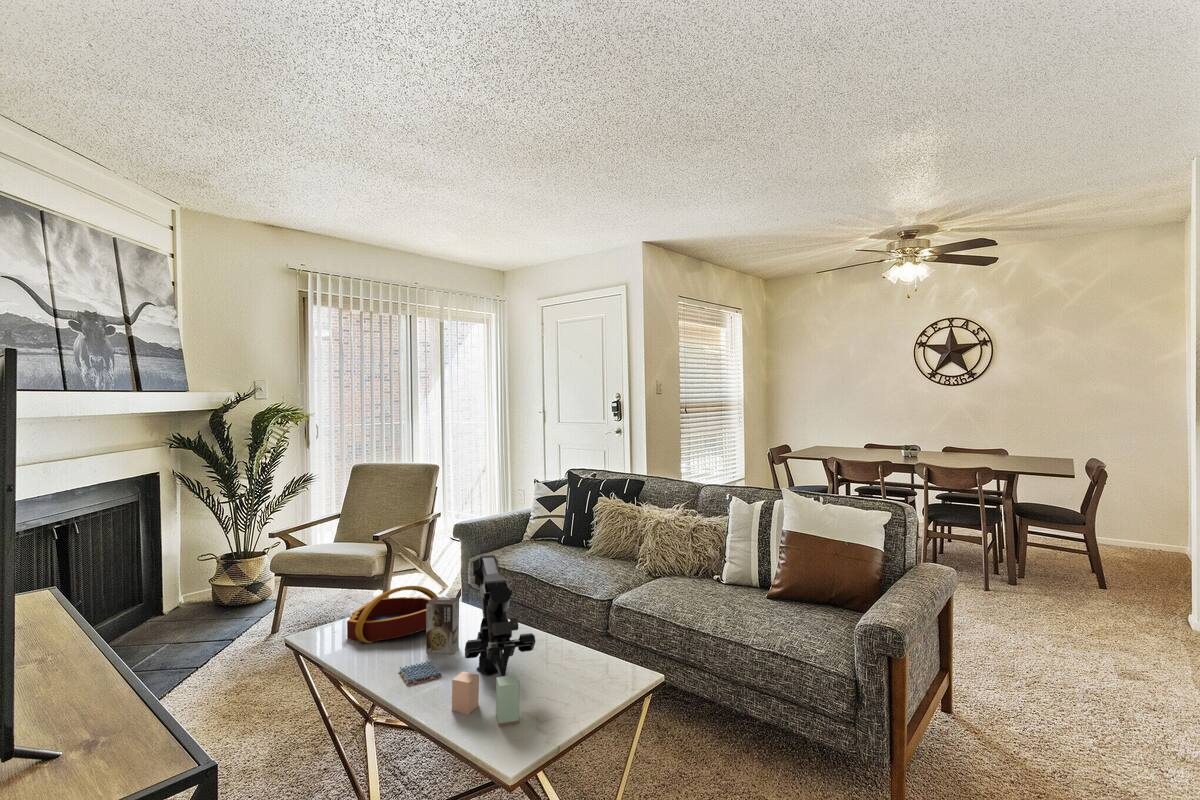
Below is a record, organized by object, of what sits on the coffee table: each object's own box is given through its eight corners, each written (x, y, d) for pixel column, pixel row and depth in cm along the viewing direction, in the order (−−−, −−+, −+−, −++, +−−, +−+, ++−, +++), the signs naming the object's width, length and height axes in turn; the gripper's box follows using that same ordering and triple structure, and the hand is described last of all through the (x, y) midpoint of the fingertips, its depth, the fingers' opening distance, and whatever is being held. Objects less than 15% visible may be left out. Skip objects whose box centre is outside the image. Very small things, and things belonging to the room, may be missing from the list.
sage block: (495, 716, 148) (496, 677, 148) (515, 713, 149) (515, 674, 149) (498, 726, 143) (499, 686, 143) (518, 723, 145) (519, 683, 145)
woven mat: (407, 688, 163) (407, 681, 163) (397, 674, 172) (397, 667, 172) (443, 679, 169) (443, 672, 169) (432, 665, 177) (432, 659, 177)
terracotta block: (462, 701, 155) (462, 671, 155) (478, 704, 154) (479, 674, 154) (451, 710, 150) (452, 679, 151) (468, 713, 149) (468, 682, 149)
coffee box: (459, 646, 191) (460, 597, 191) (452, 654, 184) (453, 604, 185) (432, 645, 192) (433, 596, 192) (425, 653, 185) (425, 602, 186)
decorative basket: (419, 614, 227) (416, 575, 228) (465, 620, 209) (461, 578, 210) (334, 641, 201) (331, 597, 202) (378, 651, 183) (374, 603, 184)
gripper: (466, 610, 155) (470, 669, 145) (534, 604, 161) (542, 660, 151) (463, 629, 163) (466, 686, 152) (528, 622, 169) (536, 677, 158)
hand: (503, 677), depth 153 cm, fingers closed
